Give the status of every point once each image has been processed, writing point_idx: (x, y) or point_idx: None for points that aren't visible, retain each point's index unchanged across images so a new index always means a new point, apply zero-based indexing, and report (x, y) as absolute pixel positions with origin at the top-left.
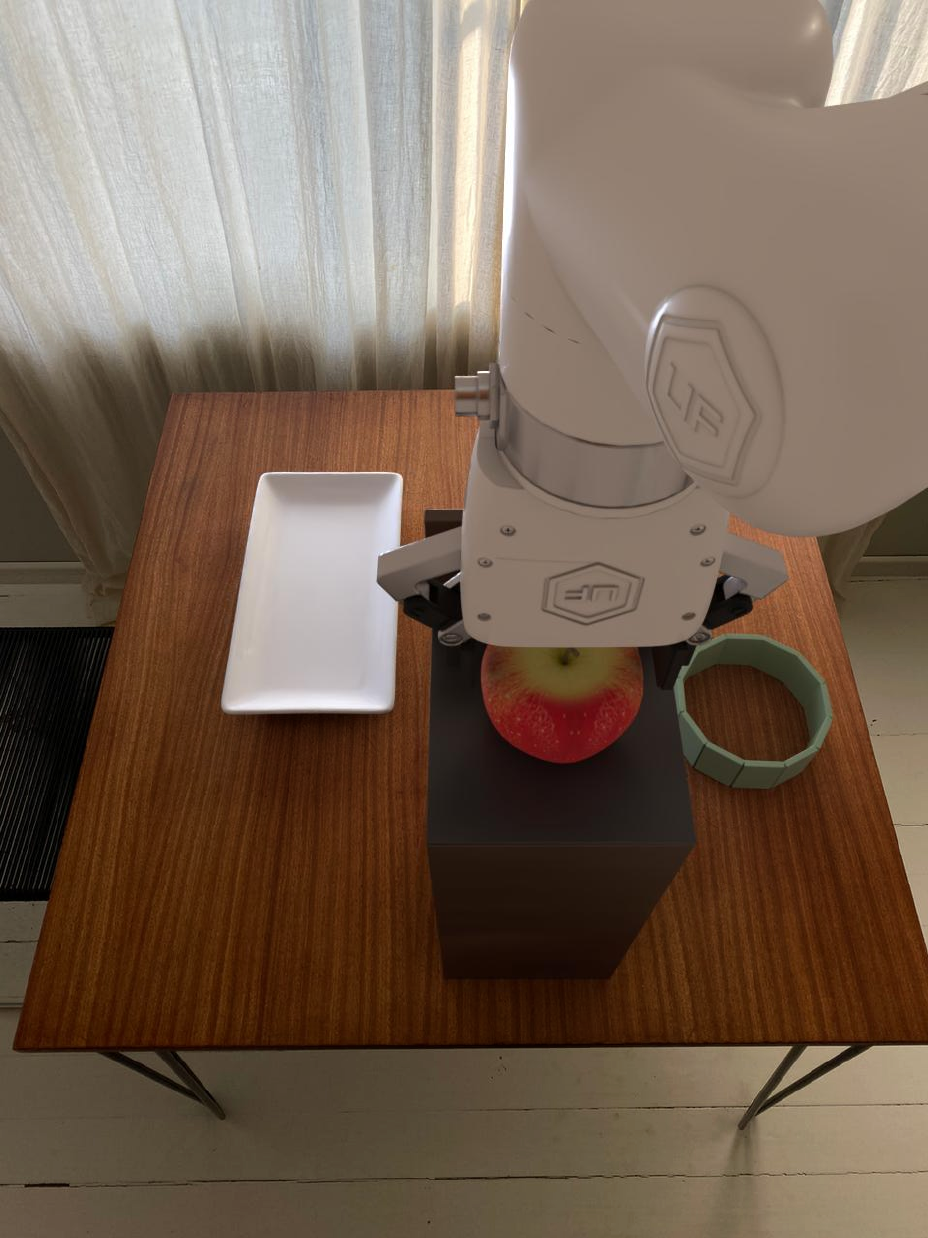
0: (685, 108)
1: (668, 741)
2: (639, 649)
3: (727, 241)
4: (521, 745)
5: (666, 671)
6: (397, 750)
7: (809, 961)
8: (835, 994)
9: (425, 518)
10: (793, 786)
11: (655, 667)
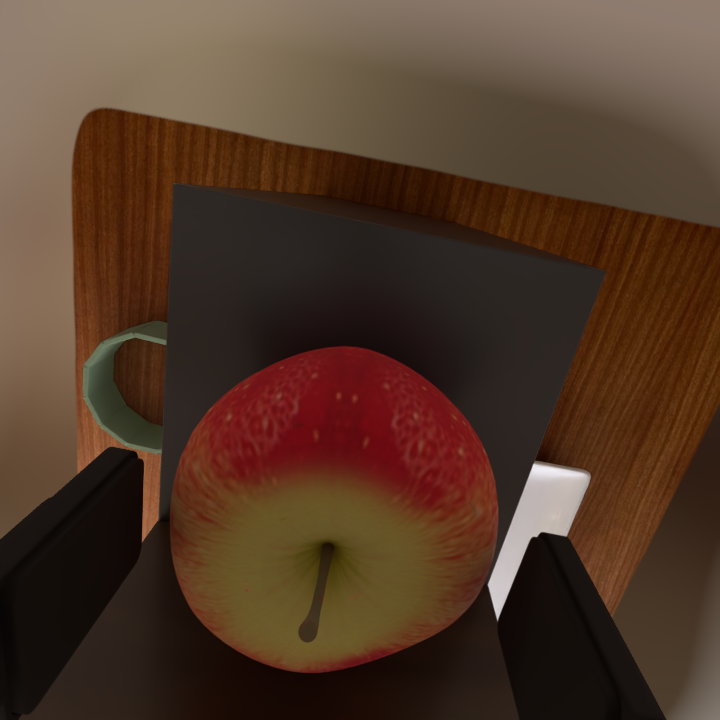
0: None
1: (185, 355)
2: None
3: None
4: (442, 394)
5: (88, 502)
6: None
7: (158, 176)
8: (144, 146)
9: None
10: (137, 318)
11: (137, 501)
